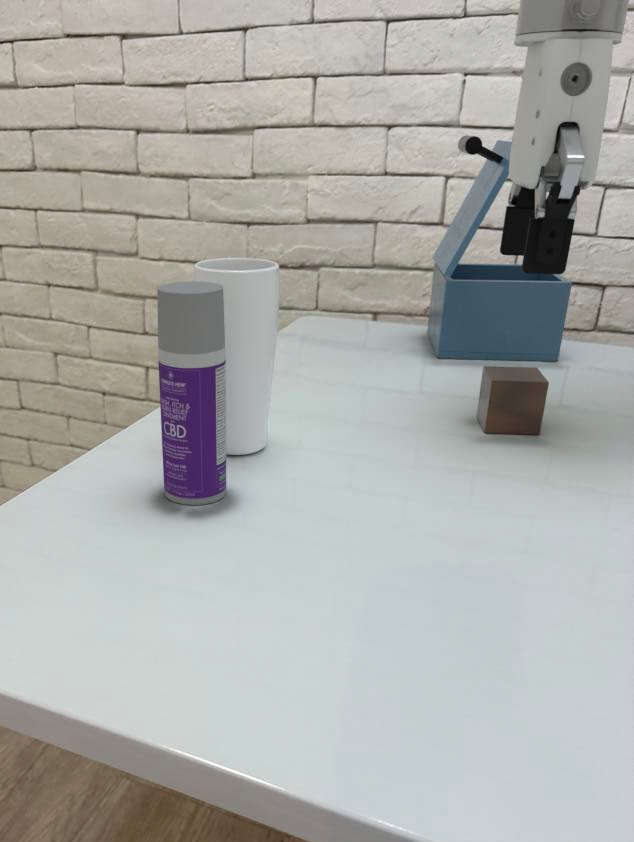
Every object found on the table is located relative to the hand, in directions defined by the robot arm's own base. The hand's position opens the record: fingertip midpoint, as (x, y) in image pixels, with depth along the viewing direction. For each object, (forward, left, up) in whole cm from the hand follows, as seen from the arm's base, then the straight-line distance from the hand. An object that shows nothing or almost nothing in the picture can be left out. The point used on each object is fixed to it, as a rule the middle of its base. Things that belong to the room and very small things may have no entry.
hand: (529, 263), depth 68 cm
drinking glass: (+24, +8, -14) cm, 29 cm away
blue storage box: (-3, -30, -14) cm, 33 cm away
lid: (0, -30, +2) cm, 30 cm away
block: (0, 0, -14) cm, 14 cm away
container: (+26, +18, -14) cm, 35 cm away
